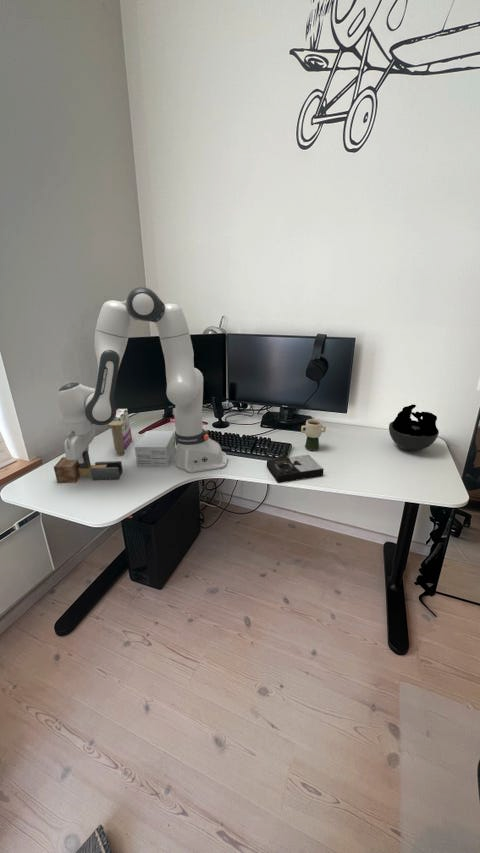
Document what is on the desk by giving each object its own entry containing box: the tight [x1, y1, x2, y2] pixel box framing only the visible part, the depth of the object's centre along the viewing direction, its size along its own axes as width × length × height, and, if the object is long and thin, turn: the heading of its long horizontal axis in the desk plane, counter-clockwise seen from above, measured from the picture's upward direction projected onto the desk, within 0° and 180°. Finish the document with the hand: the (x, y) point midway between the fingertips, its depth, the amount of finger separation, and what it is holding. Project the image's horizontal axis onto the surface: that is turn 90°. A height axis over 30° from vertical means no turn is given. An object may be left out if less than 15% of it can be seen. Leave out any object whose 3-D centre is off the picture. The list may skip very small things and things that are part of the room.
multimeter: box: [266, 454, 324, 484], centre depth 141 cm, size 13×19×5 cm
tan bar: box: [76, 450, 108, 477], centre depth 136 cm, size 16×3×9 cm, turn 93°
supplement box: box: [134, 430, 176, 468], centre depth 152 cm, size 17×13×9 cm
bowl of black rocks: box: [388, 404, 440, 451], centre depth 156 cm, size 20×20×19 cm
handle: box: [107, 421, 125, 456], centre depth 154 cm, size 5×6×15 cm
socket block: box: [53, 456, 82, 484], centre depth 137 cm, size 7×8×7 cm
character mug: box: [300, 418, 327, 451], centre depth 158 cm, size 11×7×13 cm, turn 90°
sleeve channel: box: [91, 460, 124, 482], centre depth 138 cm, size 10×6×5 cm, turn 93°
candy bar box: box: [110, 408, 133, 451], centre depth 162 cm, size 11×5×16 cm, turn 179°
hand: (83, 459), depth 136 cm, fingers closed on tan bar, 3 cm apart
